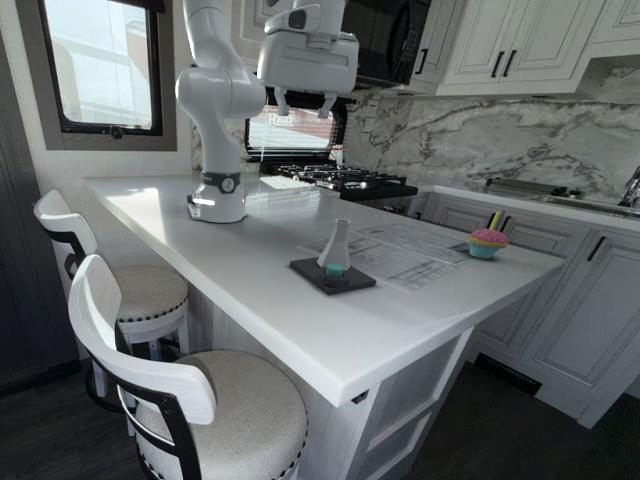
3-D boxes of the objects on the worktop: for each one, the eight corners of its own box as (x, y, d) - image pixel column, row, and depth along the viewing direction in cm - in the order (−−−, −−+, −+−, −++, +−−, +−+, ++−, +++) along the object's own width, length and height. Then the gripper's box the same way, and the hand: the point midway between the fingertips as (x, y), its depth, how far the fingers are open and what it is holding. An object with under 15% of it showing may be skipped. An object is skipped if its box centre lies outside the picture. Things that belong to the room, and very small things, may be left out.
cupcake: (458, 247, 86) (477, 204, 80) (493, 253, 84) (515, 209, 78) (466, 258, 79) (488, 212, 73) (504, 264, 77) (530, 217, 71)
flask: (351, 274, 64) (364, 227, 59) (316, 269, 65) (325, 223, 60) (348, 261, 70) (359, 217, 65) (316, 257, 71) (324, 214, 66)
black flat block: (289, 266, 69) (291, 254, 68) (331, 260, 74) (334, 248, 72) (328, 296, 58) (331, 282, 57) (375, 286, 63) (379, 273, 61)
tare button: (322, 272, 61) (323, 264, 60) (334, 270, 62) (336, 262, 61) (332, 279, 59) (334, 271, 58) (345, 277, 60) (347, 269, 59)
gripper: (349, 38, 60) (334, 119, 67) (256, 20, 52) (251, 114, 60) (373, 32, 55) (354, 120, 62) (274, 11, 48) (266, 114, 55)
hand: (303, 117), depth 61 cm, fingers open, 8 cm apart
